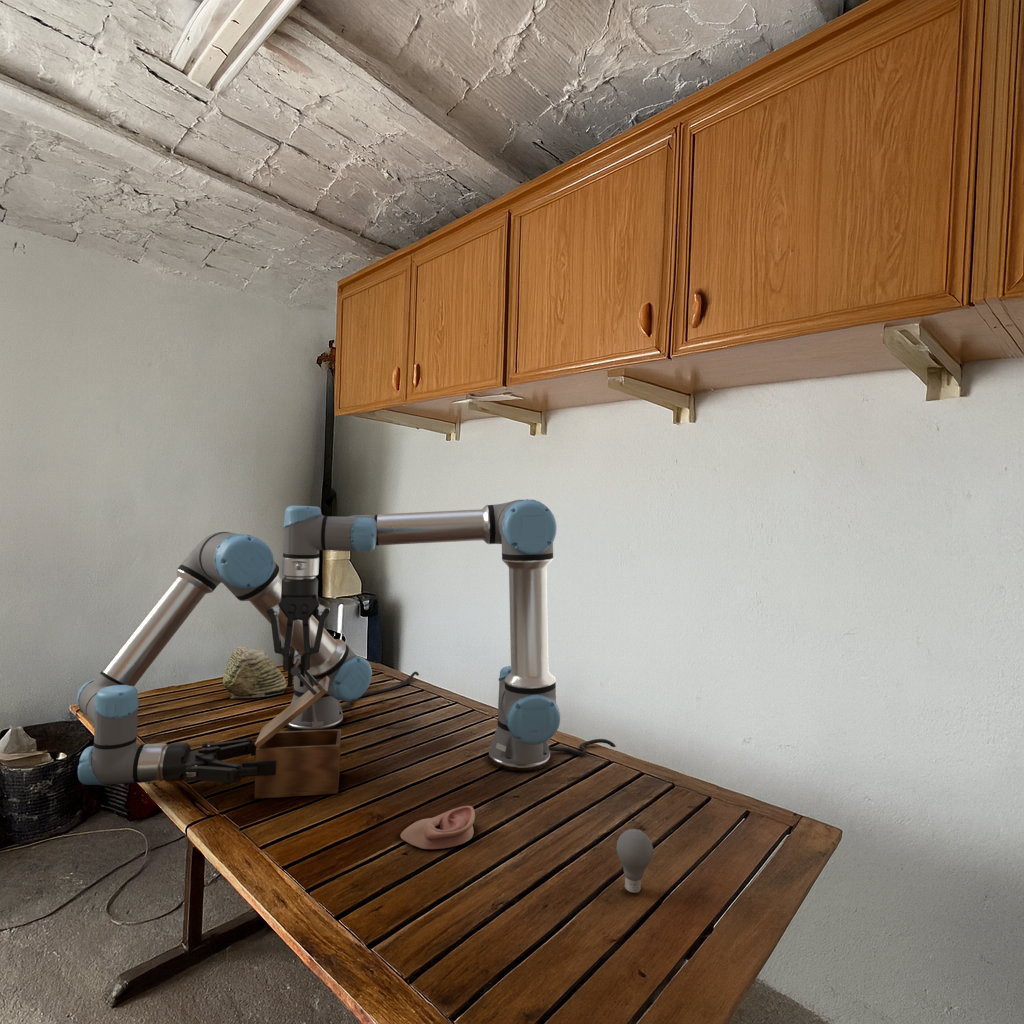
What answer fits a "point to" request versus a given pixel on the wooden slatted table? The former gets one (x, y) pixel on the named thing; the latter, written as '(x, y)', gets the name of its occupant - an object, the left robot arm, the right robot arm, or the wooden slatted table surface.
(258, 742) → the lid
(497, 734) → the right robot arm
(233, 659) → the fossil
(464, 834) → the anatomical model
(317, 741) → the chest
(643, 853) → the light bulb
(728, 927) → the wooden slatted table surface
